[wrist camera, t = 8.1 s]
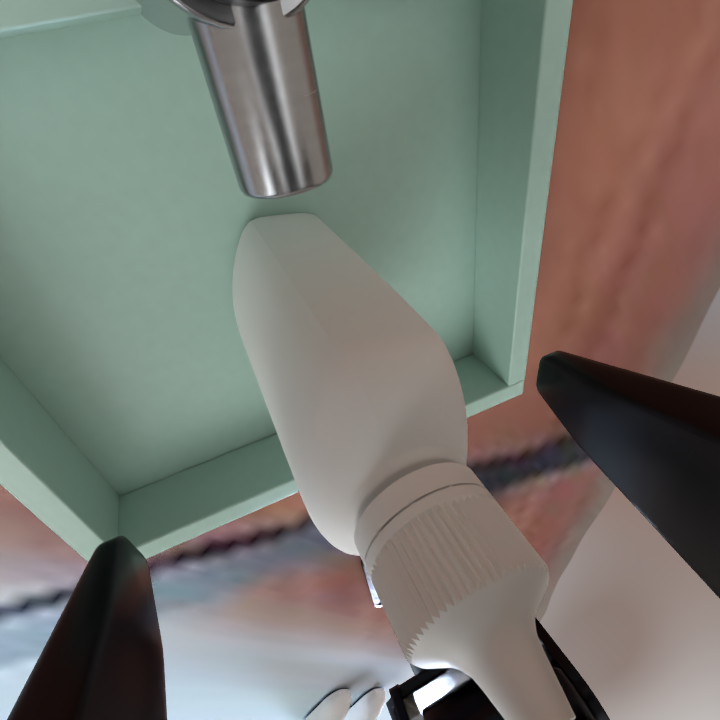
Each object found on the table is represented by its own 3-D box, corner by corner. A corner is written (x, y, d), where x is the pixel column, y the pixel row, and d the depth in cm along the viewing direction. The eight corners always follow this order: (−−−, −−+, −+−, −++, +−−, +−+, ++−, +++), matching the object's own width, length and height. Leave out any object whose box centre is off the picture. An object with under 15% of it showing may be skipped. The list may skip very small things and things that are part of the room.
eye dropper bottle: (380, 242, 14) (785, 571, 6) (307, 379, 16) (520, 783, 7) (256, 184, 12) (631, 609, 3) (188, 353, 14) (294, 913, 5)
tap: (257, 106, 12) (405, 187, 5) (172, 126, 11) (225, 241, 5) (202, -107, 9) (358, -432, 3) (90, -93, 9) (-21, -448, 2)
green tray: (479, 353, 20) (523, 393, 18) (108, 503, 17) (104, 578, 14) (496, -90, 11) (590, -123, 9) (-318, 34, 8) (-514, 31, 5)
